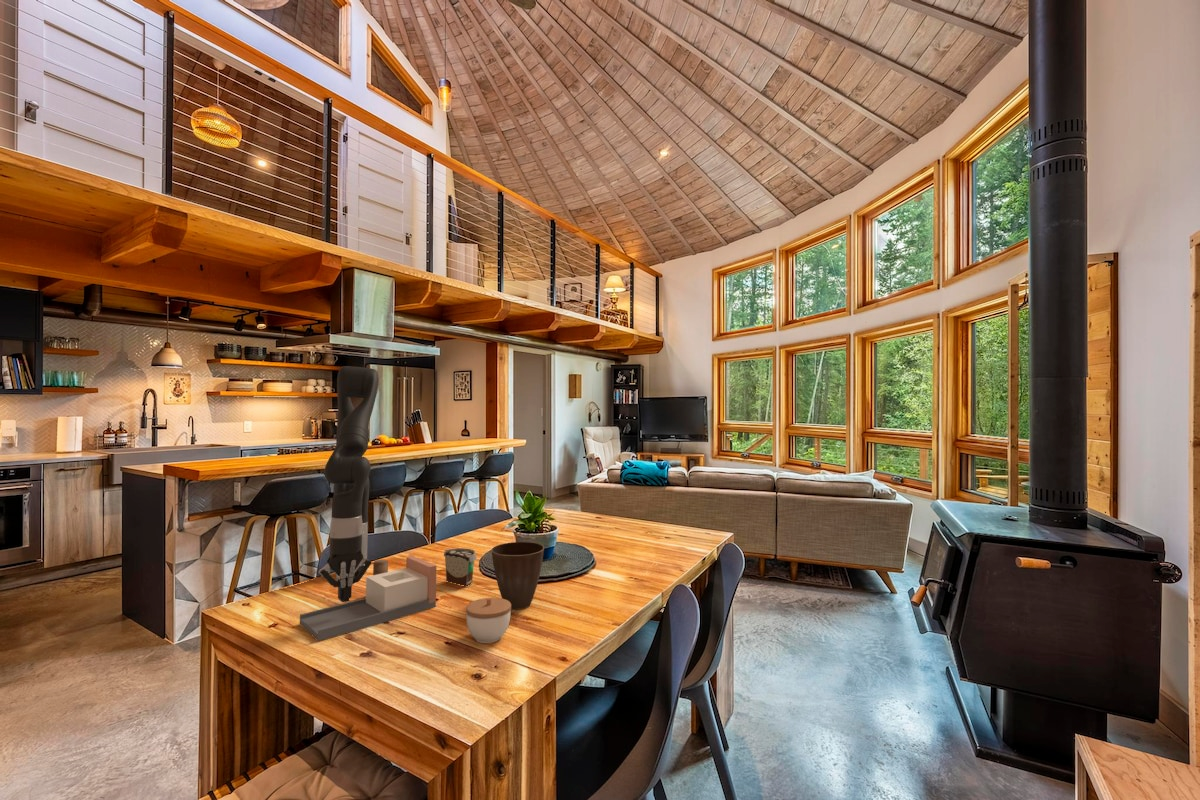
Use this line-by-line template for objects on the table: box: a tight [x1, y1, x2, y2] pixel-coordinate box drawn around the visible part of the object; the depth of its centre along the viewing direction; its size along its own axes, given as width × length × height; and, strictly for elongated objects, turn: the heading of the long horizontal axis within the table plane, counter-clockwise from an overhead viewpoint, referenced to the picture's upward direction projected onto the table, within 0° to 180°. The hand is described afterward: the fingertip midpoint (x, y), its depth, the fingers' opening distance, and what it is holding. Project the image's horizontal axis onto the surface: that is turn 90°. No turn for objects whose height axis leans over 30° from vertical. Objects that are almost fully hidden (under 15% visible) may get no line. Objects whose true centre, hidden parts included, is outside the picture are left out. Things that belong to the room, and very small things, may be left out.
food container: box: [443, 547, 477, 586], centre depth 160 cm, size 12×6×10 cm, turn 58°
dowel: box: [372, 559, 389, 576], centre depth 148 cm, size 4×4×10 cm
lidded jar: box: [465, 597, 512, 644], centre depth 120 cm, size 11×11×9 cm
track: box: [299, 555, 437, 642], centre depth 133 cm, size 14×30×12 cm, turn 137°
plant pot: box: [491, 541, 545, 610], centre depth 142 cm, size 15×15×16 cm
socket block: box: [365, 567, 428, 612], centre depth 138 cm, size 12×12×7 cm
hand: (344, 600), depth 128 cm, fingers closed
